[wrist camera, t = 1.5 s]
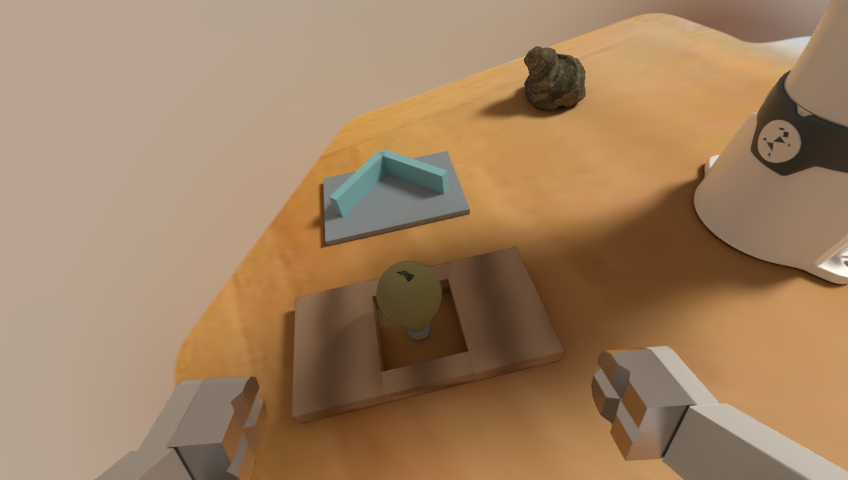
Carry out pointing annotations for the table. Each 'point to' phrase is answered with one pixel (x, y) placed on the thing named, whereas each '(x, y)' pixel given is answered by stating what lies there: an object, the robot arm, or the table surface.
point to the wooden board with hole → (370, 384)
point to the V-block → (391, 196)
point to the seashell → (553, 79)
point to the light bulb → (409, 297)
